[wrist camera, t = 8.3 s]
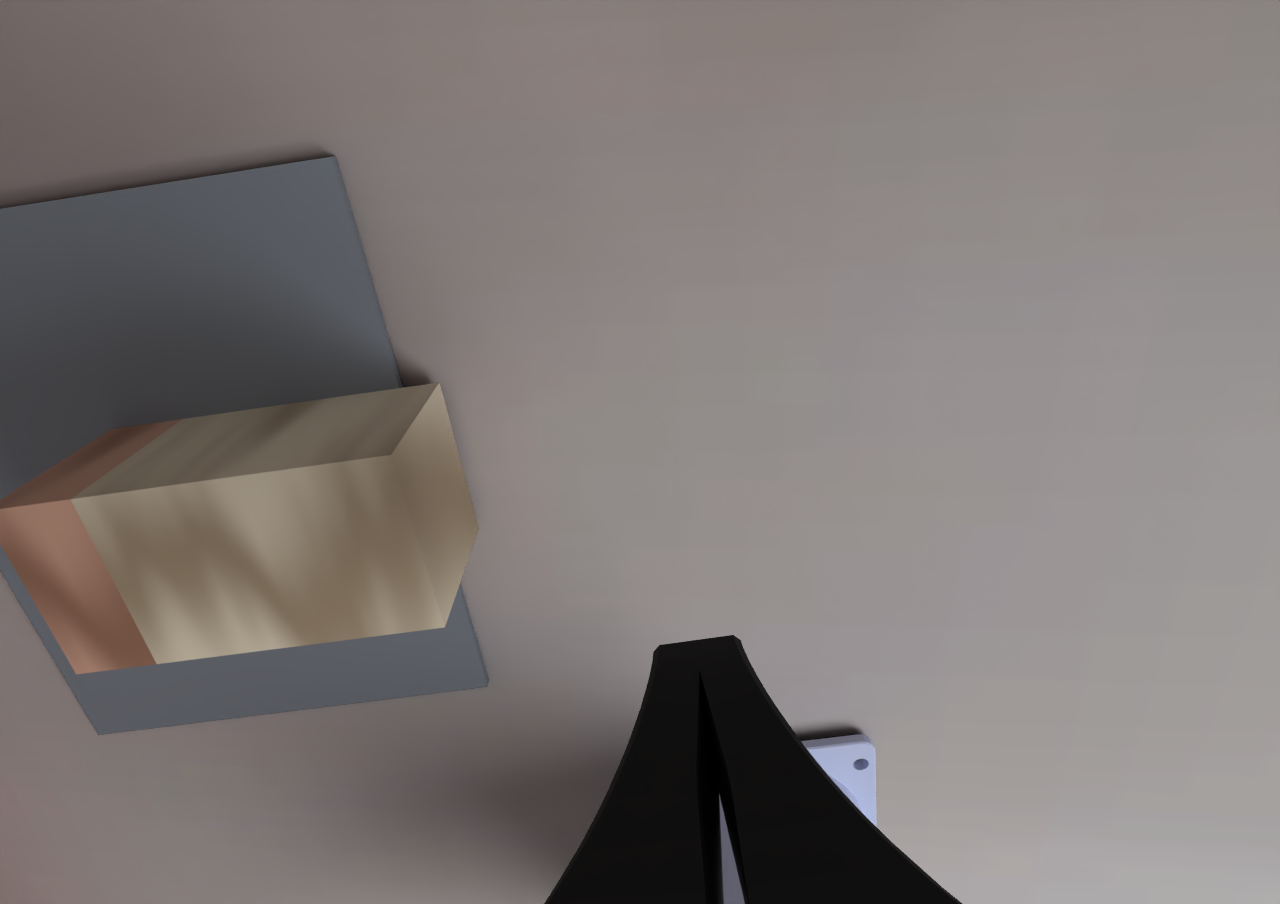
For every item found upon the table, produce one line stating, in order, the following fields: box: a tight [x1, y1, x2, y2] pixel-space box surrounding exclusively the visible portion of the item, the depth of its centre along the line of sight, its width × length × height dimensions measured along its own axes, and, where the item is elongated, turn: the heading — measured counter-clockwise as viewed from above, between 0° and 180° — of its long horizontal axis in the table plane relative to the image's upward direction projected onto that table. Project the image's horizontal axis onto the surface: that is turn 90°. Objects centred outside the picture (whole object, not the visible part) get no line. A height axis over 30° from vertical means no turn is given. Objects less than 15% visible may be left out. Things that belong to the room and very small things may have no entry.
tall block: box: [0, 383, 479, 674], centre depth 19 cm, size 4×4×9 cm
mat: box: [0, 156, 489, 735], centre depth 21 cm, size 16×13×1 cm
